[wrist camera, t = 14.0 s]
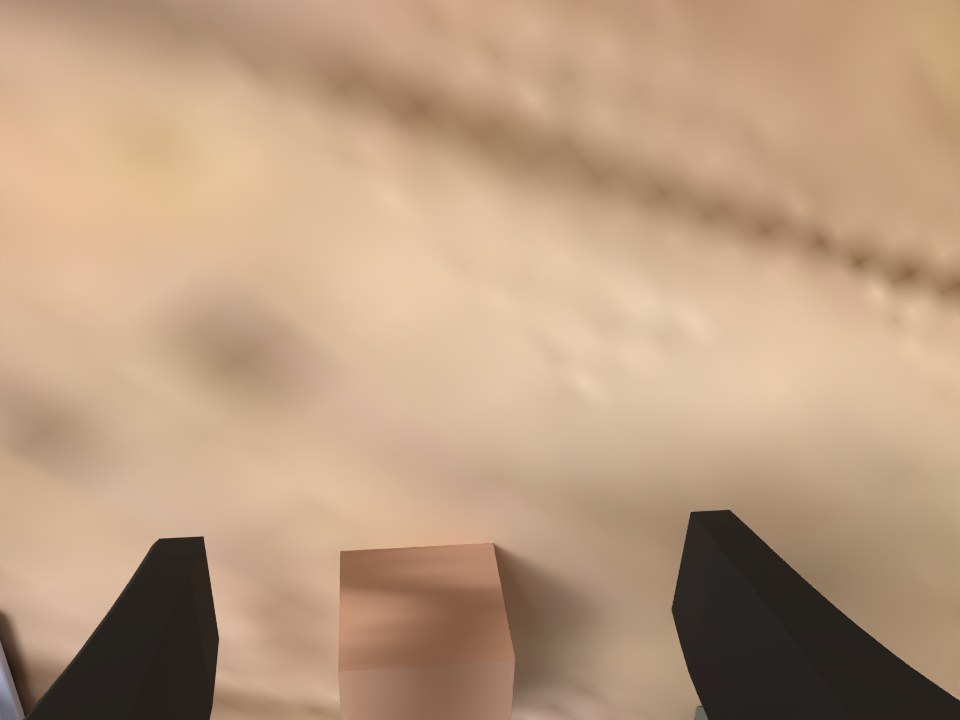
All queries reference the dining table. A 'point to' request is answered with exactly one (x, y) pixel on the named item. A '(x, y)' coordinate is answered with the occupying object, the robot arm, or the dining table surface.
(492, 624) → the terracotta block
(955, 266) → the dining table surface
